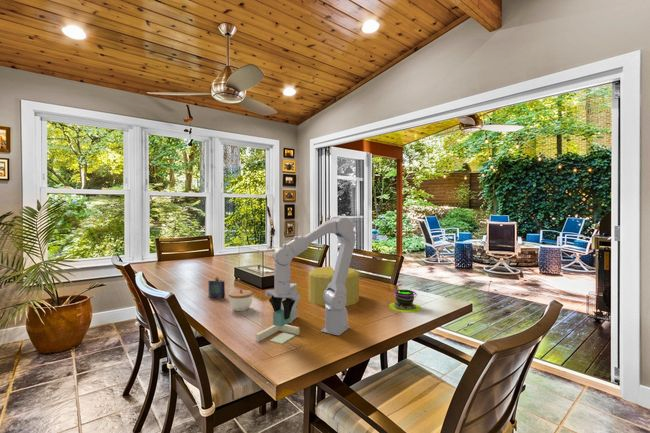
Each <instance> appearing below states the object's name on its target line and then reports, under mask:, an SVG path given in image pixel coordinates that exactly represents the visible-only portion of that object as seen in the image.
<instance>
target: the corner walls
mask: <svg viewBox="0 0 650 433" xmlns="http://www.w3.org/2000/svg"><path fill="white" fill-rule="evenodd" d="M278 331H279V332H280V331H281V332H282V333H288V334H292V335H295V336H298V335H300V326H294V325H290V324H288V323H287V324H285V325H283V326H282V327H280V326H275V325H273V324H272V325H271V326H269V327H267V328H265V329H263V330H261V331H259V332H257V333H255V341H256V342H257V343H258V342H259V343H260V342H261V341H262V340H264V339H266V338H268V337H270V336H272V335H273V334H275V333H277V332H278Z"/></svg>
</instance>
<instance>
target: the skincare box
mask: <svg viewBox="0 0 650 433" xmlns="http://www.w3.org/2000/svg"><path fill="white" fill-rule="evenodd" d="M290 292H293V293H295V294H298V283H291V282H290ZM284 300H286V299H284V298H282V301H284ZM282 308H284V307H283V304H282V303H281V309H282ZM298 310H299V309H298V301H295V303H294V305H293V307H292V309H291V322H289V323H288V324H291V323H292V322H293V321H294V320H296V318H298V316H299V313H298V312H299V311H298Z"/></svg>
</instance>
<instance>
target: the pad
mask: <svg viewBox="0 0 650 433" xmlns="http://www.w3.org/2000/svg"><path fill="white" fill-rule="evenodd" d="M294 337H296V335H295V334H291V333H287V332H282V333H279V334H277V335H276V336H274V337H273V338H271V339H269V342H272V343H276V344H281V345H283V344H284V343H286V342H288V341H289V340H292V339H293V338H294Z"/></svg>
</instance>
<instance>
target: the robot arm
mask: <svg viewBox="0 0 650 433" xmlns="http://www.w3.org/2000/svg"><path fill="white" fill-rule="evenodd" d="M354 228H355V225H354V224H353V222H352V221H351V220H350V218H347V217H339V216H333V217H331V218H330V219H328V220H326V221H324V222H322V224H320V225H319V226H317V227H315V228H314V229H313V230H311V231H310V232H309V233H307V234H305V235H304V236H302V235H298V236H297V235H295V236H294V237H293V239H292V240H290V241H289V242H287V243H283V244H282V247H281V246H279V247H277V248H275V249H274V252H273V253H272V259H273V260H274V268H273V270H274V271H273V274H274V275H273V277H274V279H273V280H274V282H273V283H274V284H273V285H274V286H273V287H274V289H266V290H265V291H264V296H265V297H270V298H269V300H268V302H269V304H271V306H272V308H273V312H275V311H278V310H280V309H281V303H282V304H283V307H284V318H285V319H286V320H287V319H288V318H289V317H290V313H291V309H292V307H293V305H294V303H295V301H297V302H299V301H301V294H298V293H297V294H295V293H293V292H290V283H291V262H292V261H293V259H294V258H296V257H297V256H299V255H300V254H302V253H303V252H305V251H306V250H308V249H309V247H310V244H312V243H313V242H315V241H316V240H318V239H320V238H322V237H324V236H325V235H328V234H334V235H335V236H336V237H337V238H338V240H339V241H340V247H339V250H338V254H337V258H336V261H335V265H334V268H333V270H334V273H333V277H332V281H331V282H330V283H329V284H328V287H327V289H326V290H325V292H324V294H323V299H324V301H325V302H326V306H324V307H325V309H324V312H325V313H324V316H325V317H324V324H325V325H324V328H322V329H321V330H320V332H321V333H326V334H330V335H333V336H340V335H343V333H344V332H346V331H347V330H348V329H350V325H348V310H347V306H345V305H346V302H347V300H346V293H347V291H346V288H345V282H346V278H347V274H348V270H349V268H350V267H351V266H350V265H351V261H352V259H353V258H352V257H353V253H354V249H355V245H356V242H357V239H356V236H355V231H354ZM282 298H284V299H286V300H284V301H282Z"/></svg>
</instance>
